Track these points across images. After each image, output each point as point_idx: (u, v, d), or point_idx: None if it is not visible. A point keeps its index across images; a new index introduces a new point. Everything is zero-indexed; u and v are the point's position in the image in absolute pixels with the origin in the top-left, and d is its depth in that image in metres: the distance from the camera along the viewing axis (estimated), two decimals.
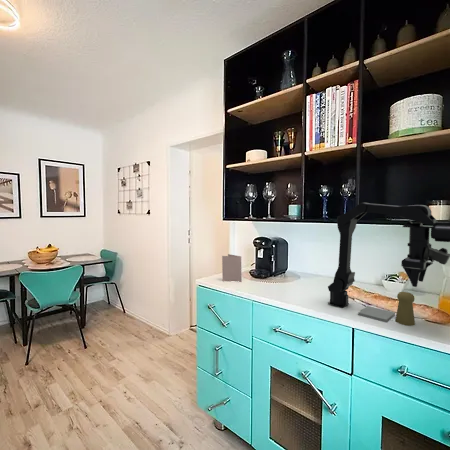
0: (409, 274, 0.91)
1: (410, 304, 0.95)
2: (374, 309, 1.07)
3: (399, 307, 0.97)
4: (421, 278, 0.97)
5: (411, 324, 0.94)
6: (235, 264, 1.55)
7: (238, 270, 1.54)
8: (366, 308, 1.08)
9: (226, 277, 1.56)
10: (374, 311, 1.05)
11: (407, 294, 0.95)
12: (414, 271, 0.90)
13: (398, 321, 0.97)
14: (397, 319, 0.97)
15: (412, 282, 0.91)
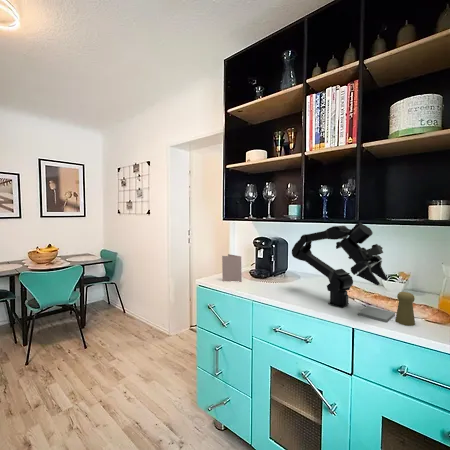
0: (366, 277, 1.01)
1: (410, 304, 0.95)
2: (374, 309, 1.07)
3: (399, 307, 0.97)
4: (384, 277, 1.05)
5: (411, 324, 0.94)
6: (235, 264, 1.55)
7: (238, 270, 1.54)
8: (366, 308, 1.08)
9: (226, 277, 1.56)
10: (374, 311, 1.05)
11: (407, 294, 0.95)
12: (366, 273, 1.01)
13: (398, 321, 0.97)
14: (397, 319, 0.97)
15: (374, 282, 0.99)
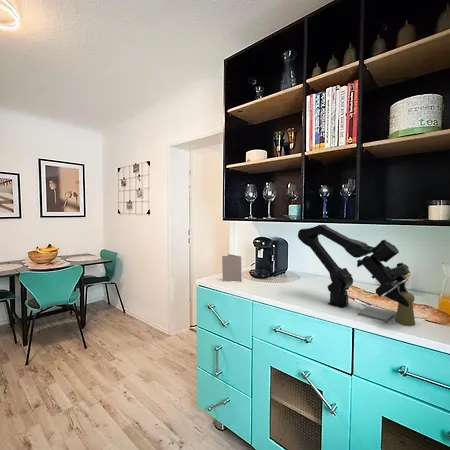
0: (394, 298, 0.96)
1: (410, 304, 0.95)
2: (374, 309, 1.07)
3: (399, 307, 0.97)
4: None
5: (411, 324, 0.94)
6: (235, 264, 1.55)
7: (238, 270, 1.54)
8: (366, 308, 1.08)
9: (226, 277, 1.56)
10: (374, 311, 1.05)
11: (407, 294, 0.95)
12: (394, 293, 0.96)
13: (398, 321, 0.97)
14: (397, 319, 0.97)
15: (403, 303, 0.95)
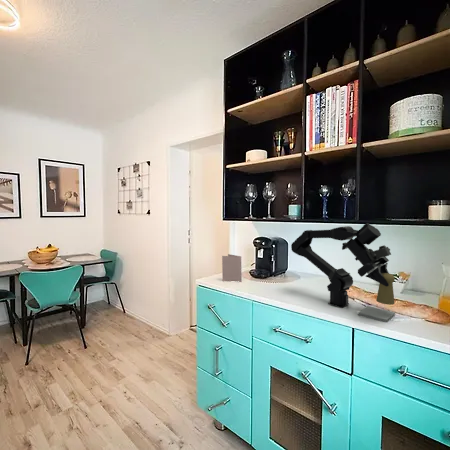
0: (375, 278, 1.00)
1: (390, 284, 0.99)
2: (374, 309, 1.07)
3: (380, 287, 1.01)
4: None
5: (390, 303, 0.99)
6: (235, 264, 1.55)
7: (238, 270, 1.54)
8: (366, 308, 1.08)
9: (226, 277, 1.56)
10: (374, 311, 1.05)
11: (388, 275, 0.99)
12: (376, 274, 1.00)
13: (378, 300, 1.01)
14: (378, 298, 1.02)
15: (383, 283, 0.99)
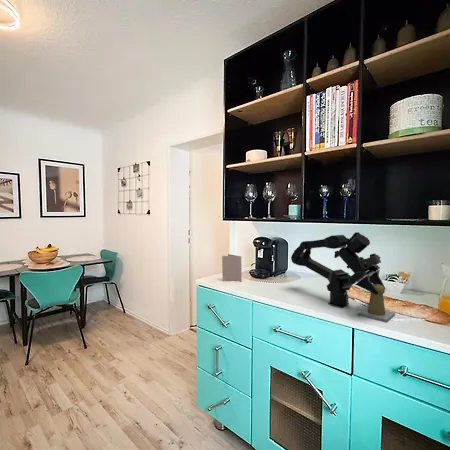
0: (364, 287, 1.02)
1: (380, 295, 1.02)
2: None
3: (371, 298, 1.04)
4: None
5: (381, 314, 1.01)
6: (235, 264, 1.55)
7: (238, 270, 1.54)
8: (366, 308, 1.08)
9: (226, 277, 1.56)
10: None
11: (378, 286, 1.02)
12: (365, 282, 1.02)
13: (370, 311, 1.04)
14: (369, 309, 1.04)
15: (372, 291, 1.01)
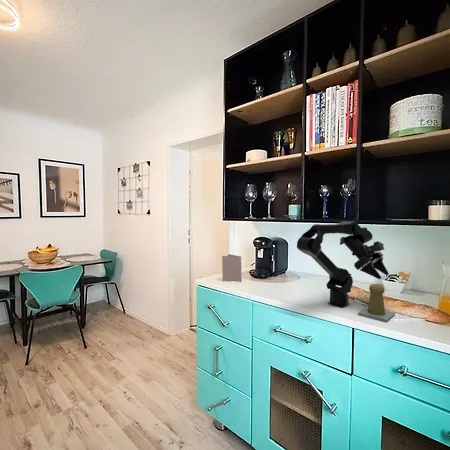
0: (368, 272, 1.08)
1: (380, 295, 1.02)
2: None
3: (371, 298, 1.04)
4: (385, 272, 1.13)
5: (381, 314, 1.01)
6: (235, 264, 1.55)
7: (238, 270, 1.54)
8: (366, 308, 1.08)
9: (226, 277, 1.56)
10: None
11: (378, 286, 1.02)
12: (369, 268, 1.08)
13: (370, 311, 1.04)
14: (369, 309, 1.04)
15: (376, 276, 1.07)
